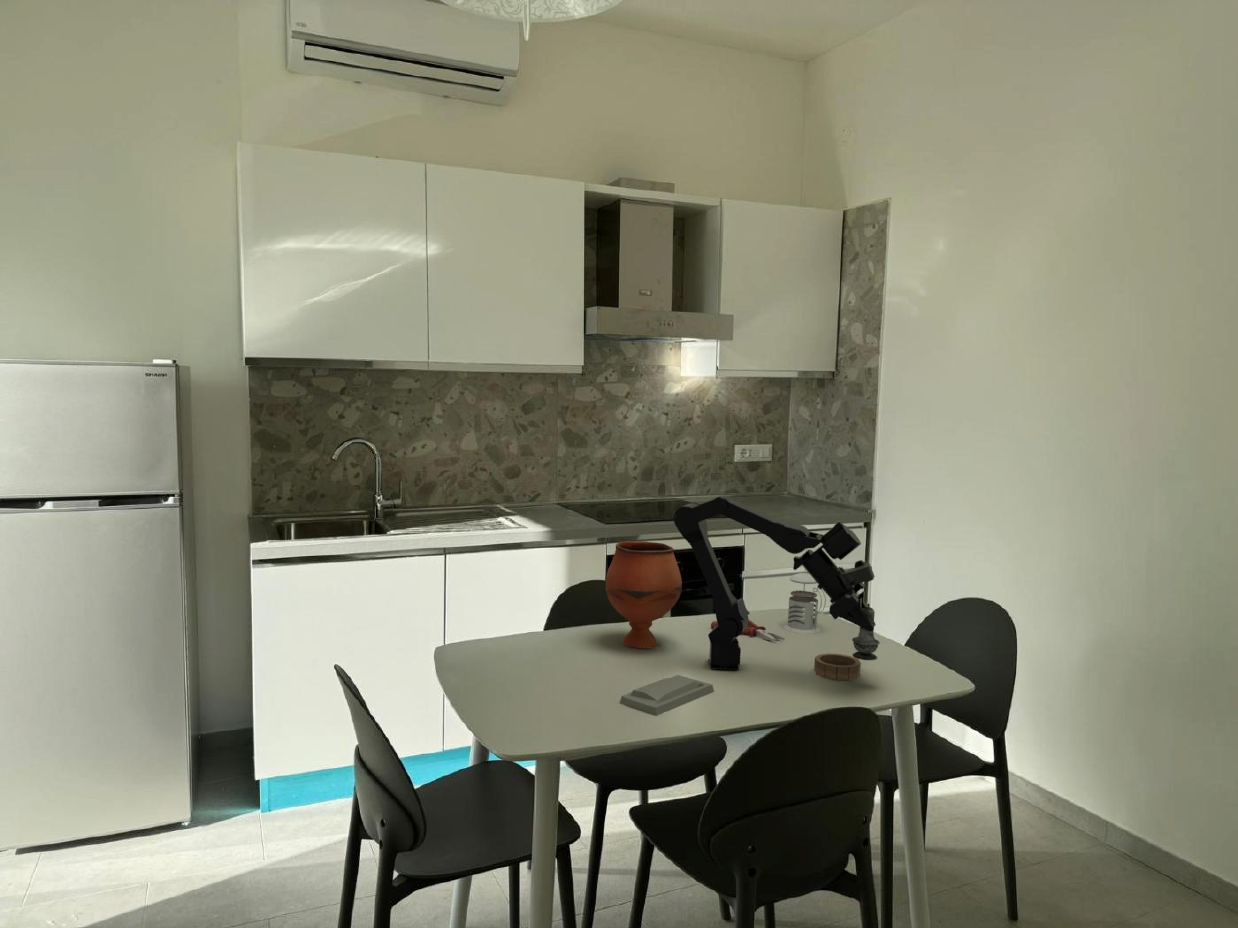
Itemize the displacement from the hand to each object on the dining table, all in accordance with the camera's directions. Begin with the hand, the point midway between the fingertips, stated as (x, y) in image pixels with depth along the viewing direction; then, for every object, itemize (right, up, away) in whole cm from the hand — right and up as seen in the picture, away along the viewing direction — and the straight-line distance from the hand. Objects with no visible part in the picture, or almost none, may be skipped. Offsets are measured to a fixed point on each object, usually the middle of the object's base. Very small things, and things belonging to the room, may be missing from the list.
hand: (873, 628), depth 197 cm
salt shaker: (-2, -7, +1) cm, 7 cm away
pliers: (-23, -10, +41) cm, 48 cm away
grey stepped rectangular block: (-46, -13, -10) cm, 48 cm away
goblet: (-50, -9, +28) cm, 58 cm away
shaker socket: (-5, -12, +10) cm, 17 cm away
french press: (-5, -9, +47) cm, 48 cm away
